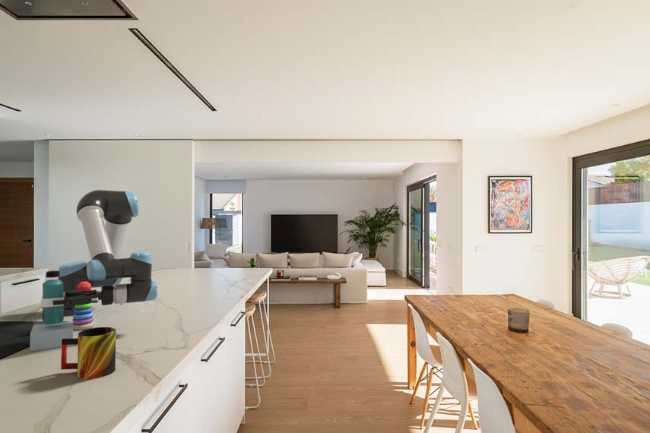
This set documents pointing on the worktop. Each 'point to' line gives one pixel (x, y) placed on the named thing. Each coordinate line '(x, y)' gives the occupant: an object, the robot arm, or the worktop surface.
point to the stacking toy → (83, 311)
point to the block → (50, 335)
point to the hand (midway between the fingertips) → (42, 300)
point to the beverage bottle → (52, 291)
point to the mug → (92, 352)
